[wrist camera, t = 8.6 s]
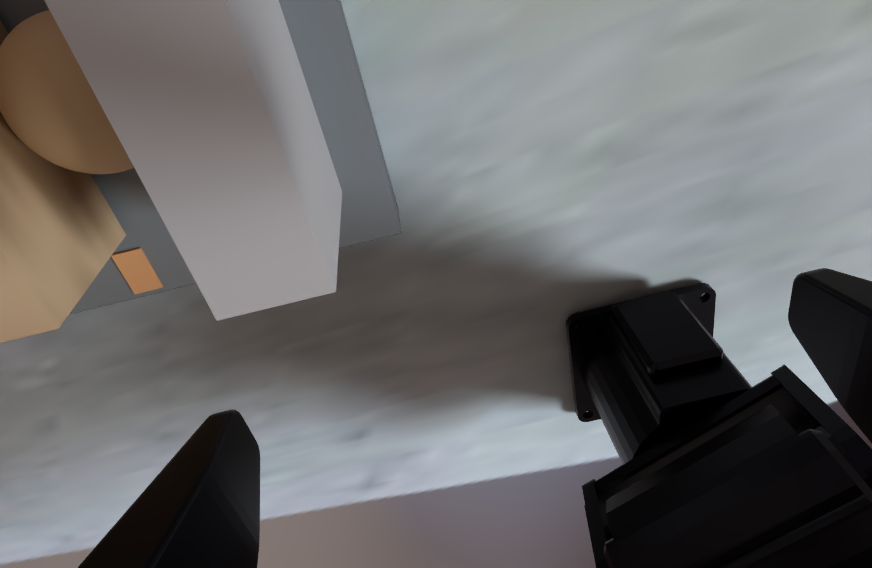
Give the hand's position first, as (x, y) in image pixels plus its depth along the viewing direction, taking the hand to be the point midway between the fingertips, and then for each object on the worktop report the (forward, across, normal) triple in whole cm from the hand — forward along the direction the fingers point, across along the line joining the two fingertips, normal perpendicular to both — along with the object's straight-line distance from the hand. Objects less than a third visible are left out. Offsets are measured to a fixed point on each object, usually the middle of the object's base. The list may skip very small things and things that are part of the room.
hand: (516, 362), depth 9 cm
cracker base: (+13, +14, -4) cm, 19 cm away
